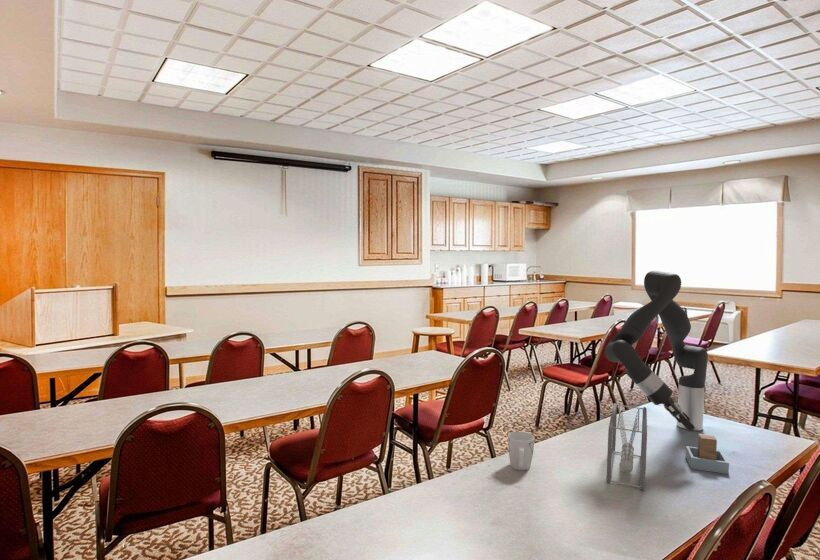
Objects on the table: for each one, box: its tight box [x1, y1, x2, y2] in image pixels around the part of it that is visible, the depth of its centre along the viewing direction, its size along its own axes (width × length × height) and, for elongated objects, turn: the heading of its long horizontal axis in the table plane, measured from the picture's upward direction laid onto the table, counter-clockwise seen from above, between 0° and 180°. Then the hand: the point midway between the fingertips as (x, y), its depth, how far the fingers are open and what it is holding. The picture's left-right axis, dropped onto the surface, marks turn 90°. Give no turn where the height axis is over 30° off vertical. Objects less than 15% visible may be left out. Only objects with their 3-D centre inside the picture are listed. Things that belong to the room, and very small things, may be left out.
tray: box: [685, 445, 730, 475], centre depth 164 cm, size 11×11×4 cm
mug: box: [507, 431, 535, 471], centre depth 158 cm, size 11×8×10 cm
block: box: [697, 433, 718, 460], centre depth 163 cm, size 4×4×9 cm
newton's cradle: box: [605, 402, 648, 491], centre depth 158 cm, size 30×10×18 cm, turn 155°
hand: (690, 425), depth 165 cm, fingers open, 8 cm apart
